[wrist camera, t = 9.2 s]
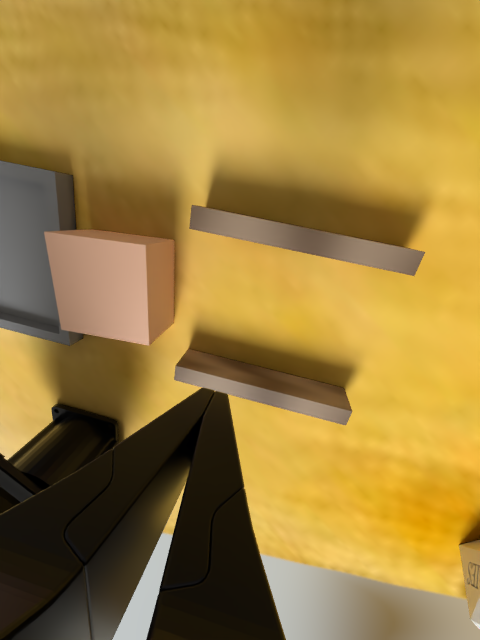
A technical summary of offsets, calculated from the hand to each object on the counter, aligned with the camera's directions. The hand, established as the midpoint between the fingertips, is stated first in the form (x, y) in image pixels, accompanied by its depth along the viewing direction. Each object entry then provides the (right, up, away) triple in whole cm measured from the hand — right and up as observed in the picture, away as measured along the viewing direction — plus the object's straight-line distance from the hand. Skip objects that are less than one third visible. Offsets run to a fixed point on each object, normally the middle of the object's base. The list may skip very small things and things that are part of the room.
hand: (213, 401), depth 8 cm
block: (-7, +6, +10) cm, 14 cm away
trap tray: (-16, +8, +11) cm, 21 cm away
